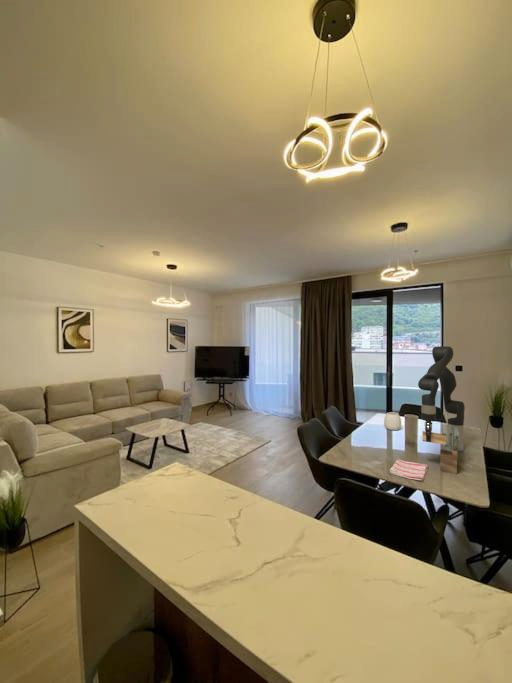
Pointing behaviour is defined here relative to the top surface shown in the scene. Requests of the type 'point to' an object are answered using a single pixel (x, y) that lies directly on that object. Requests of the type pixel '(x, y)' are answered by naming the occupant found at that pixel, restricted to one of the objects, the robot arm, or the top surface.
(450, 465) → the wooden block holder
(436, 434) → the tan rectangular block
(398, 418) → the cup
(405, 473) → the dish towel
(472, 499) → the top surface
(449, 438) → the bracket
